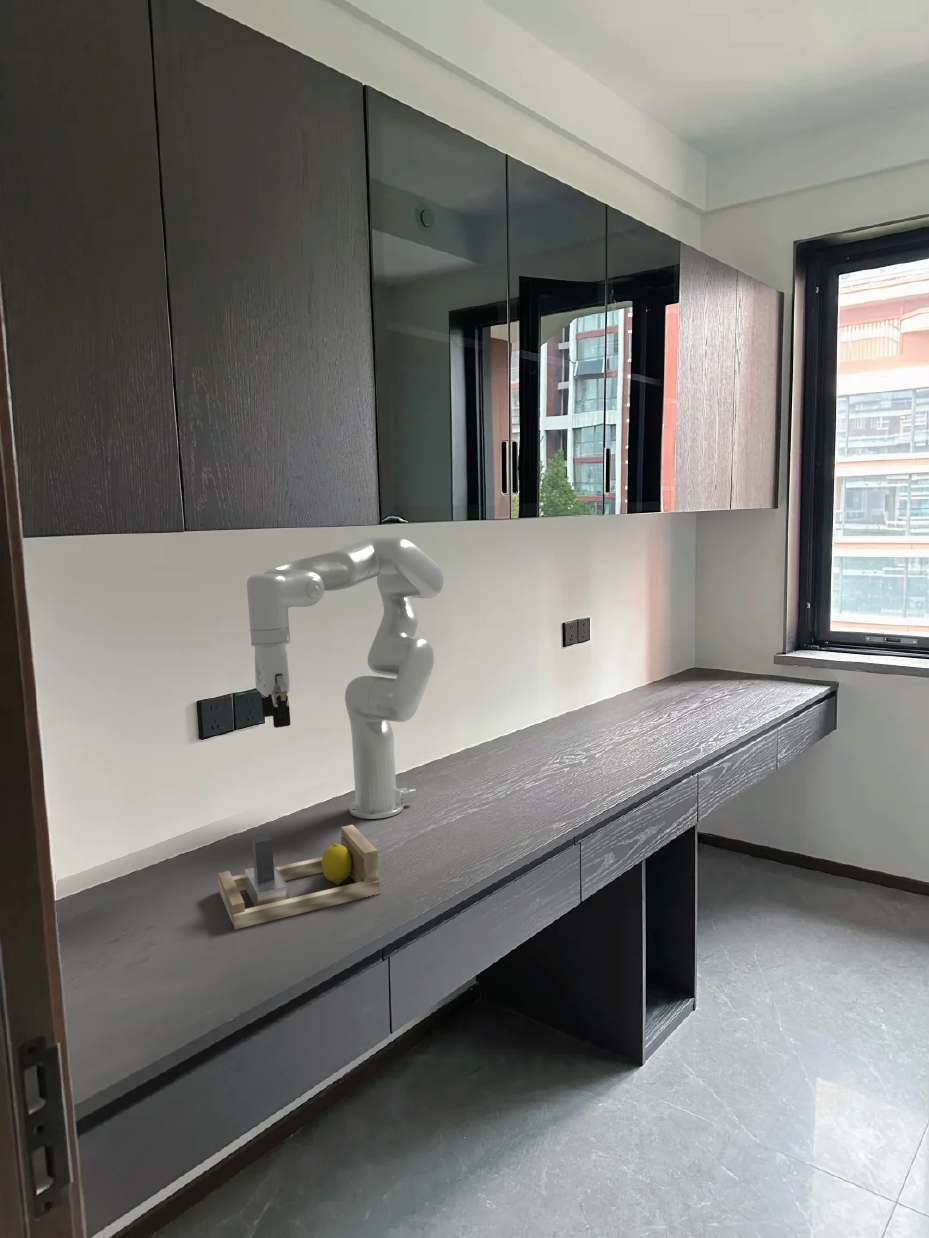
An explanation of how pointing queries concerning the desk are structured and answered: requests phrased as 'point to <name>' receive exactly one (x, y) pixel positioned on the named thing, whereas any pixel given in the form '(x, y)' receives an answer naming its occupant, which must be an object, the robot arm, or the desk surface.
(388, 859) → the desk surface
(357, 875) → the press frame
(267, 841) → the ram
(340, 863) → the lemon
